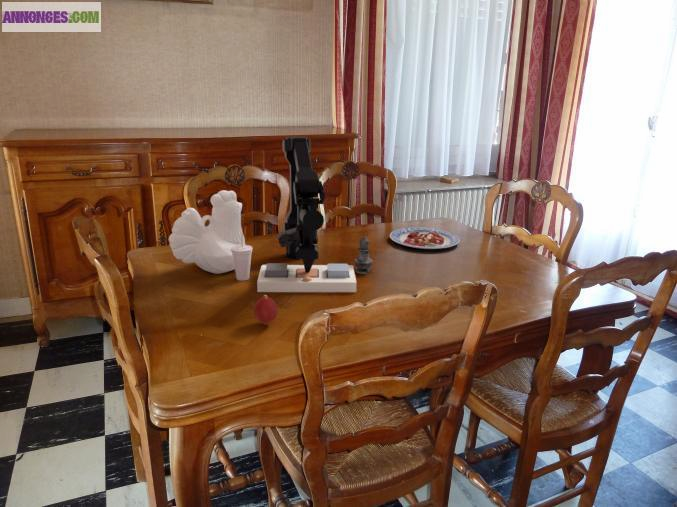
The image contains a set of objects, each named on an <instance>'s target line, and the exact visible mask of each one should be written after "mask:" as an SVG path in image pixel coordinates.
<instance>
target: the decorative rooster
mask: <svg viewBox="0 0 677 507" xmlns="http://www.w3.org/2000/svg"><path fill="white" fill-rule="evenodd" d="M210 203H211V205H212V209H211V215H209V214H206V215H204V216H201V215H200V213H199V212H198V211H197V210H196V208H194V207H187V208H186V209H185V210H184V211H182V212H181V216H179V217H178V218H177V219H176V220H175V221H174V223H173V226H172V228H171V232H172V233H171V234H170V235H169V236H168V242H169V247H170V248H171V252H172V254H173V256H174V257H175V258H176V259H177V260H181V261H182V262H183V263H184V264H192V263H193V264H194V263H195V264H196V266H198V267H199V268H200V269H202V270H203V271H206V272H208V273H211V274H214V275H215V274H219V275H220V274H223V273H228V272H231V271H235V266H234V260H233V255H232V252H231V247H233V246H236V245H242V242H241V233H243V245H246V238H245V236H244V232H243V229H242V213H241V212H242V209H243V203H242V202H239V201H238V200H237V193H236V192H235V191H234V190H224V189H223V190H220V191H218V192H217V193H214V194H213V195H212V196H211V197H210ZM207 220H208V221H209V224H208V225H206V221H207Z"/></svg>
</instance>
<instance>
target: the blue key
mask: <svg viewBox="0 0 677 507" xmlns="http://www.w3.org/2000/svg"><path fill="white" fill-rule="evenodd" d="M326 265H327V275H328V278H349V269H348V265H349V264H348V263H327V264H326Z"/></svg>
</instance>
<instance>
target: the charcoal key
mask: <svg viewBox="0 0 677 507" xmlns="http://www.w3.org/2000/svg"><path fill="white" fill-rule="evenodd" d="M266 265H267V266H266V270H265V274H266V277H276V278H287V265H288V262H287V263H284V262H283V263H282V262H279V263H278V262H277V263H273V262H270V263H269V262H267V263H266Z"/></svg>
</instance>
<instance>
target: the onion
mask: <svg viewBox="0 0 677 507" xmlns="http://www.w3.org/2000/svg"><path fill="white" fill-rule="evenodd" d="M278 311H279V309H278V304H276V302H275V301H274V300H273V299H272V298H271V297H269V296H268V295H267V294H264V295H263V296H262V297H261V298H260V299H259V300H258V301H256V303H255V305H254V307H253V315H254V317H255V318H256V320H257V321H258V322H259V323H261V324H263V325H264V326H268V325H269V324H271V323H272V322H273V321H274V320H275V319H276V318H277V317H278V313H279V312H278Z"/></svg>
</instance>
